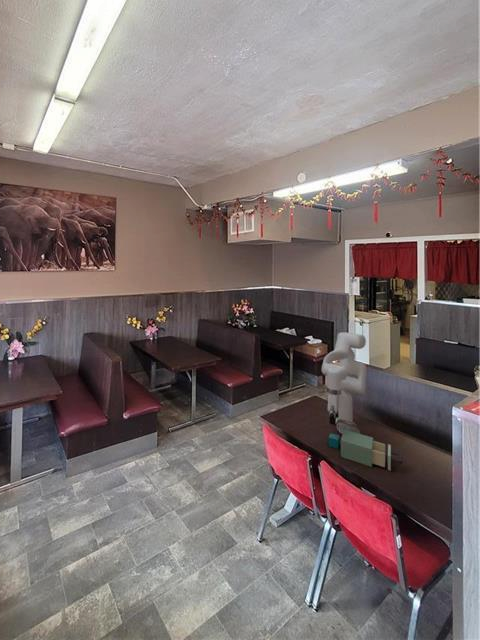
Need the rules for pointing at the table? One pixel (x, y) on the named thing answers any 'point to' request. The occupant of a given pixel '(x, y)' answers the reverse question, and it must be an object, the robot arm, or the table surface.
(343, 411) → the robot arm
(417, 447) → the table surface
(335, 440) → the cube
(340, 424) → the tin
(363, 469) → the table surface
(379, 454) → the drawer
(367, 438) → the cabinet
